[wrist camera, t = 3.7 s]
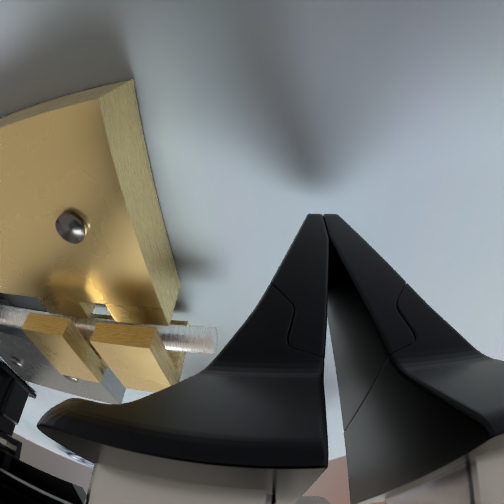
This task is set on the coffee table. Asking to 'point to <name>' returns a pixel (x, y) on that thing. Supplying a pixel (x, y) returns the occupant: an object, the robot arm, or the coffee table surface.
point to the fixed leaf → (45, 374)
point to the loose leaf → (88, 236)
